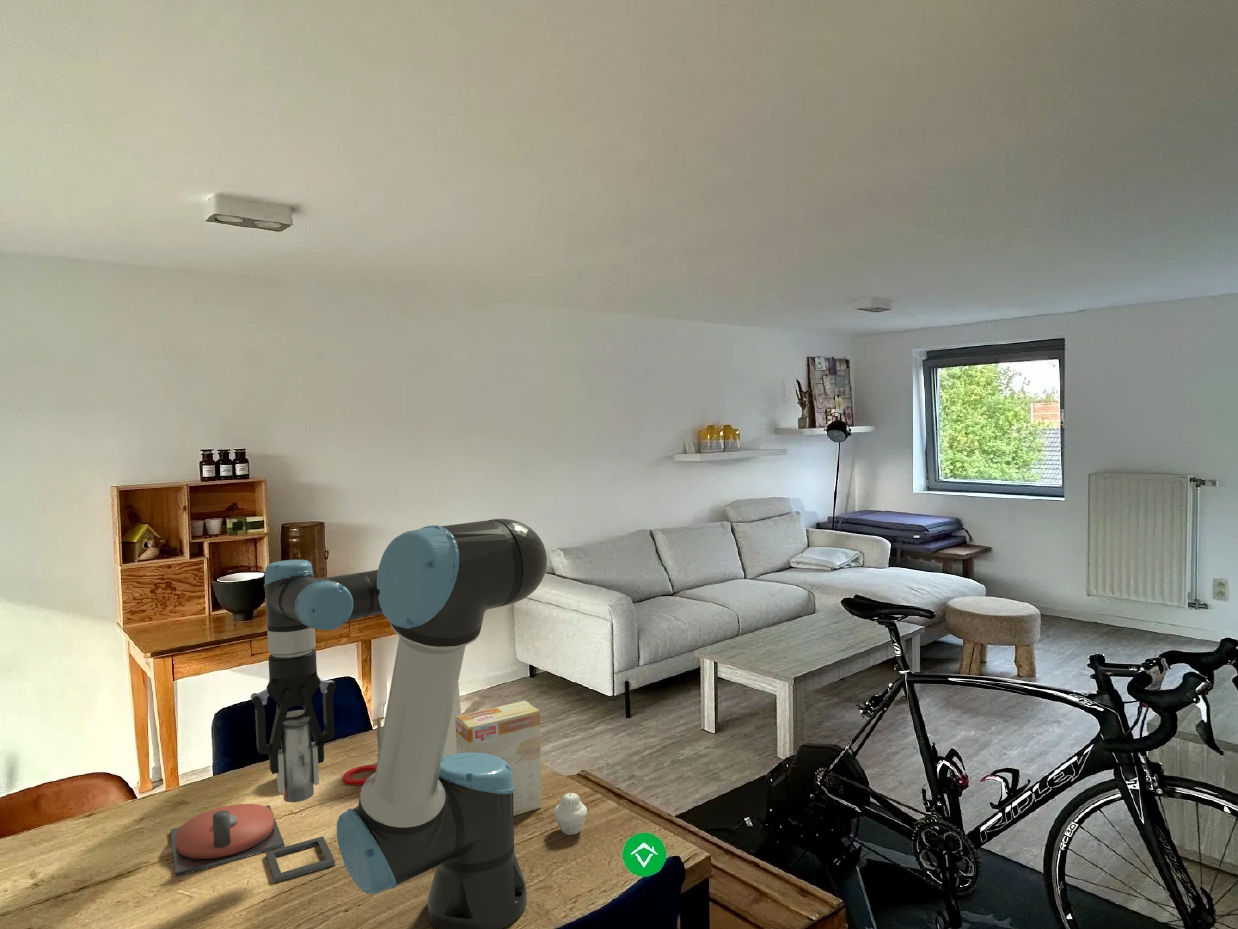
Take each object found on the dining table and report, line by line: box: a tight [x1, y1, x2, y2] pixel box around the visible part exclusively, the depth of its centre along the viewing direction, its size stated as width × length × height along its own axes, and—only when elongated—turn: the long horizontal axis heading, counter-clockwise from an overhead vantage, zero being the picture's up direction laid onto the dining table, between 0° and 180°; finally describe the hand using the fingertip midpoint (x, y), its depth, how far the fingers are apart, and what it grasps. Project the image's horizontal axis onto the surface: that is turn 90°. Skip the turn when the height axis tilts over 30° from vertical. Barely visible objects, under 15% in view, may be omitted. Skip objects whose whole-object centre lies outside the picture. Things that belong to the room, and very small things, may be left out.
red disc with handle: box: [176, 803, 275, 859], centre depth 144 cm, size 16×16×7 cm
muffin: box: [554, 792, 588, 836], centre depth 145 cm, size 6×6×7 cm
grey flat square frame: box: [265, 836, 336, 884], centre depth 137 cm, size 10×10×1 cm
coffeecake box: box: [456, 700, 543, 816], centre depth 153 cm, size 15×7×20 cm, turn 122°
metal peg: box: [280, 709, 315, 803], centre depth 135 cm, size 5×5×14 cm
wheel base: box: [170, 804, 285, 877], centre depth 144 cm, size 17×17×1 cm
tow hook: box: [342, 717, 383, 786], centre depth 169 cm, size 8×13×9 cm
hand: (298, 785), depth 136 cm, fingers closed on metal peg, 5 cm apart
